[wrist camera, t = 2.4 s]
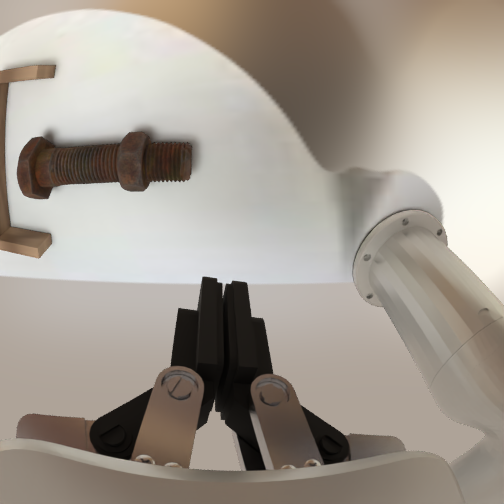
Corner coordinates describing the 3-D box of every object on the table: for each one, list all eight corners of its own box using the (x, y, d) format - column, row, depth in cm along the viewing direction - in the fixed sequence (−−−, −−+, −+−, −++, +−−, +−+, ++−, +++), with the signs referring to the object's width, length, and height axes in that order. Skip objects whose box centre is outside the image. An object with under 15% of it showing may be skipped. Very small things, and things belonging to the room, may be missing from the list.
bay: (55, 65, 17) (38, 65, 15) (51, 243, 26) (39, 258, 24) (3, 72, 16) (-15, 74, 14) (6, 234, 25) (-7, 247, 23)
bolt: (194, 160, 26) (51, 165, 24) (194, 115, 21) (35, 128, 19) (189, 210, 23) (30, 212, 21) (187, 164, 19) (7, 175, 16)
